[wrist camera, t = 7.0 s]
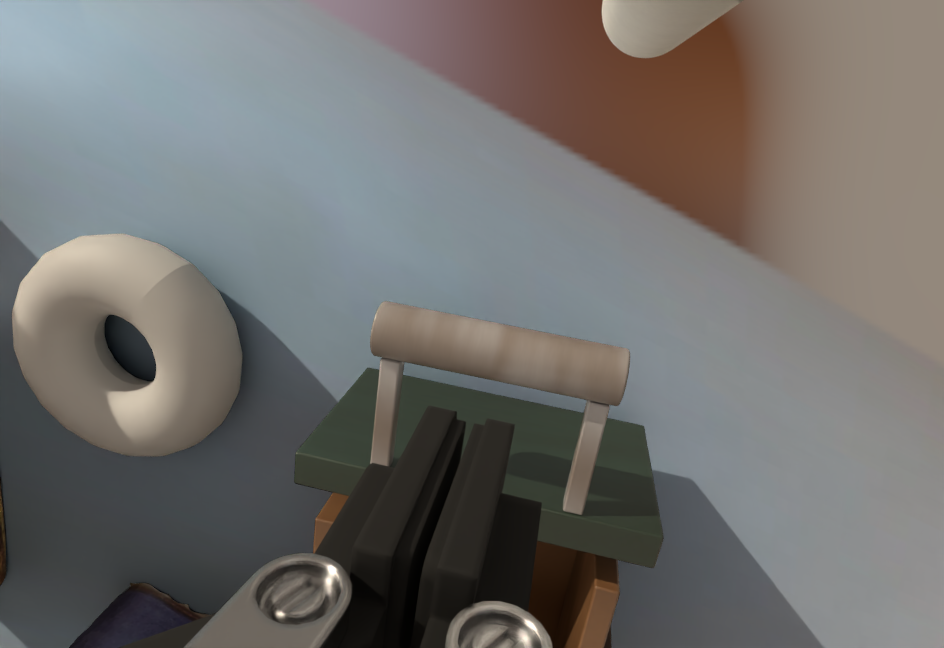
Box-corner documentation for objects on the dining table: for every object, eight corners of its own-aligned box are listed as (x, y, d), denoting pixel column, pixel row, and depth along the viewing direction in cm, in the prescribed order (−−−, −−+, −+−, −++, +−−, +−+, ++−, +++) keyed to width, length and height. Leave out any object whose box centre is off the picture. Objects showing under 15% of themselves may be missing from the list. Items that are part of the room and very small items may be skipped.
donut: (47, 379, 30) (229, 467, 30) (-19, 411, 27) (184, 510, 26) (74, 188, 26) (282, 284, 26) (0, 198, 23) (237, 308, 23)
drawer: (378, 242, 24) (295, 295, 17) (679, 298, 22) (719, 379, 16) (344, 614, 30) (275, 758, 23) (575, 674, 29) (571, 845, 22)
